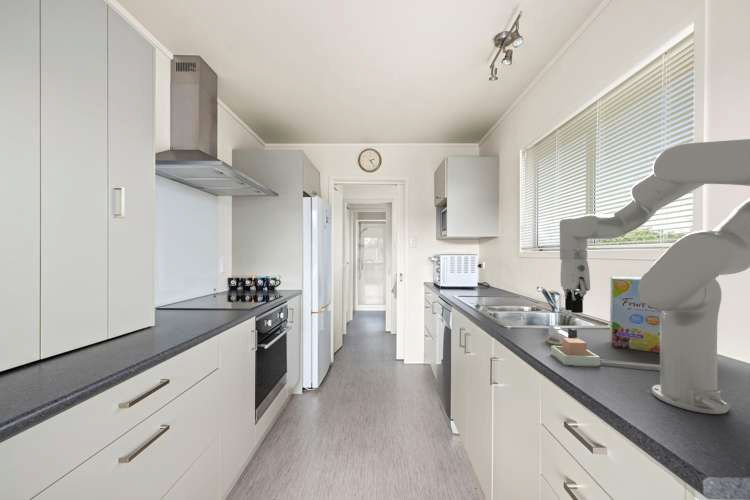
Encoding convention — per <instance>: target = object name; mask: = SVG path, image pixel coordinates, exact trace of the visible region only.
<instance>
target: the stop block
mask: <svg viewBox="0 0 750 500" xmlns="http://www.w3.org/2000/svg"><path fill="white" fill-rule="evenodd" d="M587 344H588V343H587V342H585V341H584V340H582V339H580V338H578V337H577V338H562V345H561V346H562V352H563V353H564V354H565V355H575V356H587V350H588V347H587V346H588V345H587Z"/></svg>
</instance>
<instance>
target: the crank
mask: <svg viewBox="0 0 750 500" xmlns="http://www.w3.org/2000/svg"><path fill="white" fill-rule="evenodd" d="M548 338H549V339H550V340H554V341H561V342H562V338H577V339H578V330H577V328H574V327H573V328H571V327H569V328H567V332H566V331H564V330H563V328H562V327H561V326H557V325H549V326H548Z"/></svg>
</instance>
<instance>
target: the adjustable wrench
mask: <svg viewBox="0 0 750 500" xmlns="http://www.w3.org/2000/svg"><path fill="white" fill-rule="evenodd" d="M600 366H607V367H616V368H627V369H637V370H646V371H647V370H648V371H657V372H660V364H654V363H642V362H634V361H632V362H631V361H622V360H610V359H601V358H600Z"/></svg>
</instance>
